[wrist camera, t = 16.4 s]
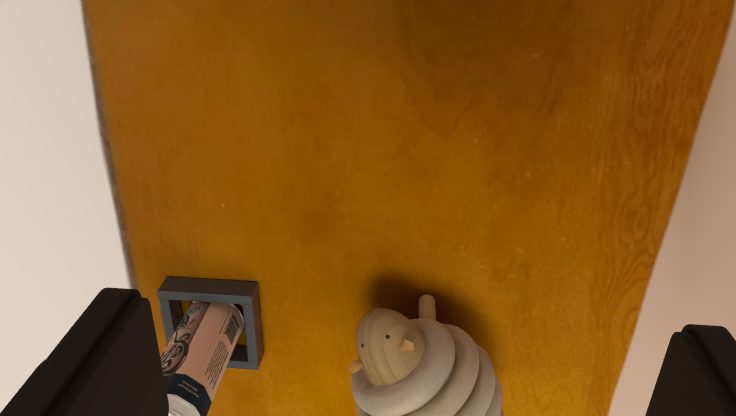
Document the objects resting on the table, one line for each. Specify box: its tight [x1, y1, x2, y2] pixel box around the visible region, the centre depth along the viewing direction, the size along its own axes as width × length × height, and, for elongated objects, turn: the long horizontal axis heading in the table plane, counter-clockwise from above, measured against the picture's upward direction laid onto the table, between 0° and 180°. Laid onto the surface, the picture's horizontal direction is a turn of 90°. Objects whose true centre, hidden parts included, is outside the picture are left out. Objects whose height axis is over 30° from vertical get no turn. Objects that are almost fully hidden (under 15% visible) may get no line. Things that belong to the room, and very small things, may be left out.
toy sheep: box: [350, 294, 504, 416], centre depth 44 cm, size 11×17×11 cm, turn 37°
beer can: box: [160, 301, 244, 416], centre depth 44 cm, size 5×5×12 cm
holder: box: [157, 277, 264, 370], centre depth 49 cm, size 7×7×2 cm
